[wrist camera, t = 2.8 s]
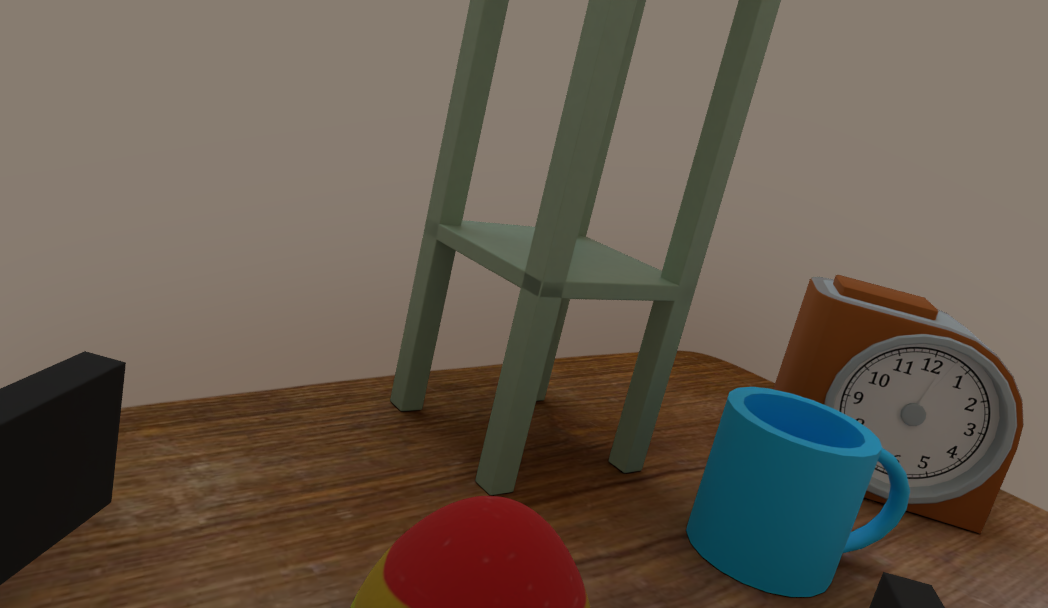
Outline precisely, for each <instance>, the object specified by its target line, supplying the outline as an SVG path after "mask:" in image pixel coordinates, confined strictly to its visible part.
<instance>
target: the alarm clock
mask: <svg viewBox="0 0 1048 608" xmlns="http://www.w3.org/2000/svg"><path fill="white" fill-rule="evenodd" d="M773 390H778V391H782V392H787V393H791V394H795V395H798V396H801V397H804V398H807V399H811V400H814V401H816V402H819V403H821V404H824V405H826V406H828V407H831V408H833V409H836V410H838V411H840V412H841V413H843V414H845V415H847V416H849V417H851V418H853V419H855V420H856V421H858V422H859V423H861V424H862V425H864V426H865V427H867V428H868V429H870V430H871V431H872V432H873V433H874V434H875V435H876V436H877V437H878V438H879V439H880V442H881V445H882V448H883V449H885V450H886V451H888V452H889V453H891V454H892V455H894V456H895V458H896V459H897V460H898V462H899V463H900V465H901V466H902V467H903V469H904V470H905V472H906V474H907V478H908V483H909V488H910V495H909V500H908V505H907V510H906V511H909V512H912V513H916V514H919V515H922V516H925V517H929V518H932V519H935V520H938V521H941V522H945V523H948V524H951V525H954V526H957V527H961V528H964V529H967V530H970V531H974V532H977V533H980V534H981V532H982V529H983V527H984V525H985V522H986V520H987V518H988V515H989V513H990V511H991V508H992V506H993V504H994V501H995V499H996V497H997V494H998V492H999V490H1000V487H1001V485H1002V483H1003V480H1004V478H1005V476H1006V473H1007V471H1008V469H1009V466H1010V464H1011V461H1012V459H1013V457H1014V455H1015V452H1016V450H1017V447H1018V444H1019V440H1020V436H1021V432H1022V428H1023V406H1022V398H1021V395H1020V393H1019V390H1018V387H1017V385H1016V382H1015V379H1014V377H1013V375H1012V374H1011V373H1010V371H1009V370H1008V369H1007V367H1006V366H1005V365H1004V364H1003V362H1002V361H1001V360H1000V358H999V357H998V356H997V355H996V354H995V353H994V352H993V351H992V350H991V349H989V348H988V347H987V346H986V345H985V344H984V343H983V342H981V341H980V340H979V339H978V338H977V337H976V336H975V335H974V334H972V333H971V332H970V331H969V330H968V329H967V328H966V327H964V326H963V325H962V324H960V323H959V322H958V321H956V320H955V319H954V318H952V317H951V316H950V315H948V314H947V313H945V312H943V311H940V310H938V309H936V308H935V307H934V306H933V305H932V304H931V303H930V302H928V301H927V300H926V299H925V298H924V297H920V296H916V295H912V294H909V293H905V292H901V291H897V290H893V289H890V288H885V287H882V286H879V285H874V284H871V283H867V282H863V281H860V280H856V279H852V278H848V277H844V276H841V275H836V277H835V279H834V280H833V279H827V278H823V277H812V278H811V279H810V281H809V284H808V287H807V290H806V293H805V296H804V299H803V302H802V305H801V308H800V311H799V314H798V317H797V320H796V323H795V326H794V329H793V332H792V335H791V338H790V341H789V344H788V347H787V350H786V353H785V356H784V359H783V362H782V365H781V368H780V371H779V374H778V377H777V380H776V383H775V386H774V389H773ZM890 486H891V485H890V481H889V477H888V473H887V471H886V470H885V469H884V467H883V466H882V464H881V463H880V462H878V461H877V464H876V467H875V469H874V472H873V475H872V477H871V480H870V482H869V485H868V488H867V490H866V493H865V496H864V498H867V499H871V500H874V501H877V502H880V503H883V504H885V503H886V502H887V500H888V497H889V491H890Z"/></svg>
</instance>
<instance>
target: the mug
mask: <svg viewBox="0 0 1048 608" xmlns="http://www.w3.org/2000/svg"><path fill="white" fill-rule="evenodd" d="M877 461H878V462H880V463H881V464H882V466H883V467H884V469H885V470H886V471H887V473H888V477H889V481H890V485H891V486H890V491H889V497H888V500H887V502H886V503H885V505H884V507H883V508H882V510H881V511H880V513H879V514H878V515H877V516H875V517H874V518H873V519H872V520H871V521H870V522H869V523H868V524H866V525H864V526H862V527H860V528H858V529H856V530H854V531H852V532H851V530H852V527H853V525H854V522H855V519H856V517H857V514H858V511H859V509H860V506H861V503H862V501H863V498H864V496H865V493H866V490H867V488H868V485H869V482H870V480H871V477H872V475H873V472H874V469H875V467H876V464H877ZM909 495H910V488H909V483H908V478H907V474H906V472H905V470H904V469H903V467H902V466H901V465H900V463H899V462H898V460H897V459H896V458H895V456H894V455H892V454H891V453H889V452H888V451H886V450H885V449H883V448H882V445H881V442H880V439H879V438H878V437H877V436H876V435H875V434H874V433H873V432H872V431H871V430H870V429H868V428H867V427H865V426H864V425H862V424H861V423H859V422H858V421H856V420H855V419H853V418H851V417H849V416H847V415H845V414H843V413H841V412H840V411H838V410H836V409H833V408H831V407H828V406H826V405H824V404H821V403H819V402H816V401H814V400H811V399H807V398H804V397H801V396H798V395H795V394H791V393H787V392H782V391H778V390H773V389H767V388H758V387H744V388H737V389H735V390H733V391H731V392H729V395H728V399H727V402H726V405H725V408H724V411H723V414H722V417H721V420H720V424H719V427H718V430H717V433H716V436H715V439H714V442H713V446H712V449H711V452H710V455H709V458H708V461H707V464H706V468H705V471H704V474H703V477H702V480H701V483H700V486H699V489H698V493H697V496H696V499H695V502H694V505H693V508H692V511H691V515H690V518H689V521H688V525H687V529H686V531H687V534H688V537H689V540H690V543H691V544H692V545H693V546H694V548H695V549H696V550H697V551H698V552H699V554H700V555H701V556H702V557H703V558H704V559H706V560H707V561H708V562H710V563H711V564H712V565H713V566H715V567H716V568H717V569H719V570H720V571H722V572H723V573H725V574H727V575H729V576H731V577H733V578H734V579H736V580H738V581H740V582H742V583H744V584H747V585H749V586H752V587H755V588H757V589H760V590H763V591H765V592H769V593H774V594H779V595H784V596H789V597H812V596H815V595H818V594H820V593H823V592H825V591H826V590H827V588H828V587H829V585H830V584H831V582H832V580H833V577H834V575H835V572H836V569H837V567H838V564H839V561H840V559H841V556H842V553H846V552H850V551H854V550H858V549H862V548H864V547H866V546H868V545H870V544H872V543H874V542H876V541H878V540H880V539H882V538H883V537H884V536H885V535H886V534H888V533H889V532H890V531H891V530H892V529H893V528H894V527H896V526H897V524H898V523H899V521H900V519H901V518H902V516H903V515H904V513H905V511H906V510H907V505H908V500H909Z"/></svg>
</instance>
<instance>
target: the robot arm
mask: <svg viewBox="0 0 1048 608" xmlns="http://www.w3.org/2000/svg"><path fill="white" fill-rule="evenodd" d="M125 364H126V363H125V362H121V361H118V360H114V359H111V358H107V357H103V356H100V355H96V354H93V353H89V352H86V351H85V352H82V353H80V354H78V355H76V356H73V357H71V358H69V359H67V360H65V361H62V362H60V363H57V364H55V365H53V366H51V367H49V368H46V369H44V370H42V371H39V372H37V373H35V374H33V375H30V376H28V377H26V378H24V379H22V380H19V381H17V382H15V383H12V384H10V385H8V386H6V387H3V388H1V389H0V585H1V584H2V583H4V582H5V581H6V580H8V579H9V578H10V577H12V576H13V575H14V574H16V573H17V572H18V571H20V570H21V569H22V568H24V567H25V566H26V565H28V564H29V563H30V562H32V561H33V560H34V559H36V558H37V557H38V556H40V555H41V554H42V553H44V552H45V551H46V550H48V549H49V548H51V547H52V546H53V545H55V544H56V543H57V542H59V541H60V540H61V539H63V538H64V537H65V536H67V535H68V534H69V533H71V532H72V531H73V530H75V529H76V528H77V527H79V526H80V525H81V524H83V523H84V522H85V521H87V520H88V519H89V518H91V517H92V516H93V515H95V514H96V513H97V512H99V511H100V510H101V509H103V508H104V507H105V506H107V505H108V504H109V503H111V499H112V489H113V480H114V470H115V461H116V451H117V441H118V432H119V422H120V413H121V403H122V393H123V384H124V374H125ZM870 608H945V607H944V606H943V604H942V602H941V601H940V599H939V597H938V595H937V594H936V592H935V590H934V589H933V587H932V585H929V584H925V583H922V582H918V581H914V580H911V579H907V578H903V577H900V576H896V575H893V574H889V573H885V572H883V574H882V577H881V579H880V582H879V585H878V587H877V590H876V592H875V595H874V597H873V600H872V602H871V605H870Z"/></svg>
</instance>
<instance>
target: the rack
mask: <svg viewBox="0 0 1048 608" xmlns="http://www.w3.org/2000/svg"><path fill="white" fill-rule="evenodd" d="M508 1H509V0H470V4H469V9H468V14H467V19H466V24H465V29H464V34H463V40H462V45H461V49H460V54H459V59H458V64H457V69H456V75H455V79H454V84H453V89H452V94H451V99H450V104H449V109H448V114H447V119H446V125H445V129H444V134H443V139H442V144H441V149H440V154H439V159H438V164H437V170H436V174H435V179H434V184H433V189H432V194H431V199H430V204H429V209H428V214H427V219H426V224H425V229H424V235H423V239H422V244H421V249H420V254H419V259H418V264H417V269H416V274H415V279H414V284H413V289H412V294H411V299H410V304H409V309H408V314H407V319H406V324H405V329H404V334H403V339H402V344H401V349H400V354H399V359H398V364H397V369H396V374H395V379H394V384H393V389H392V394H391V399H390V401H391V402H392V403H393V404H394V405H395V406H396V407H397V408H398V409H399V410H400V411H411V410H422V407H423V402H424V398H425V393H426V388H427V383H428V379H429V374H430V369H431V364H432V360H433V355H434V350H435V346H436V341H437V336H438V331H439V327H440V322H441V317H442V312H443V308H444V303H445V298H446V294H447V289H448V284H449V280H450V275H451V270H452V265H453V261H454V256H455V251H457V252H459V253H461V254H463V255H464V256H466V257H468V258H470V259H471V260H473V261H475V262H477V263H478V264H480V265H482V266H484V267H485V268H487V269H489V270H491V271H492V272H494V273H496V274H498V275H499V276H501V277H503V278H504V279H506V280H508V281H510V282H512V283H513V284H515V285H517V286H518V287H520V288H521V290H520V294H519V298H518V302H517V307H516V311H515V315H514V319H513V323H512V328H511V332H510V336H509V340H508V344H507V349H506V353H505V358H504V361H503V366H502V370H501V374H500V378H499V382H498V387H497V391H496V395H495V399H494V404H493V408H492V412H491V416H490V420H489V425H488V429H487V433H486V437H485V442H484V446H483V450H482V454H481V458H480V463H479V467H478V471H477V475H476V480H475V481H476V482H477V483H478V484H479V485H480V486H481V487H482V488H483V489H484V490H485V491H486V492H487V493H488V494H490V495H496V494H502V493H508V492H513V490H514V486H515V482H516V478H517V474H518V470H519V466H520V462H521V458H522V454H523V450H524V446H525V442H526V439H527V435H528V431H529V427H530V423H531V419H532V415H533V411H534V407H535V403H536V401H539V400H544V399H545V395H546V391H547V387H548V383H549V379H550V375H551V372H552V368H553V364H554V360H555V356H556V352H557V348H558V344H559V340H560V336H561V332H562V328H563V324H564V320H565V316H566V313H567V309H568V305H569V301H570V299H599V300H600V299H601V300H649V301H653V305H652V309H651V312H650V316H649V319H648V323H647V326H646V330H645V333H644V337H643V340H642V344H641V348H640V351H639V354H638V358H637V361H636V365H635V369H634V372H633V376H632V379H631V383H630V386H629V390H628V393H627V397H626V400H625V404H624V407H623V411H622V414H621V418H620V421H619V425H618V429H617V432H616V436H615V439H614V443H613V446H612V450H611V453H610V457H609V462H610V463H611V464H613V465H614V466H616V467H617V468H618V469H620V470H621V471H622V472H624V473H628V472H634V471H641V470H642V467H643V464H644V461H645V457H646V454H647V450H648V447H649V444H650V440H651V437H652V434H653V430H654V427H655V423H656V420H657V417H658V413H659V410H660V407H661V403H662V400H663V396H664V393H665V390H666V386H667V383H668V380H669V376H670V373H671V369H672V366H673V363H674V359H675V356H676V353H677V349H678V346H679V342H680V339H681V336H682V332H683V329H684V325H685V322H686V319H687V315H688V312H689V309H690V305H691V302H692V298H693V295H694V292H695V288H696V285H697V282H698V278H699V275H700V272H701V268H702V265H703V261H704V258H705V255H706V251H707V248H708V244H709V241H710V238H711V234H712V231H713V228H714V224H715V221H716V218H717V214H718V211H719V207H720V204H721V201H722V197H723V194H724V191H725V187H726V184H727V180H728V177H729V174H730V170H731V167H732V164H733V160H734V157H735V153H736V150H737V146H738V143H739V140H740V136H741V133H742V130H743V126H744V123H745V119H746V116H747V113H748V109H749V106H750V103H751V99H752V96H753V93H754V89H755V86H756V83H757V79H758V75H759V72H760V69H761V65H762V62H763V59H764V56H765V52H766V49H767V45H768V42H769V39H770V35H771V32H772V29H773V25H774V22H775V18H776V15H777V12H778V8H779V5H780V2H781V0H739V1H738V5H737V8H736V12H735V16H734V19H733V23H732V26H731V30H730V33H729V37H728V40H727V44H726V47H725V51H724V55H723V58H722V61H721V65H720V68H719V72H718V76H717V79H716V83H715V86H714V90H713V93H712V97H711V101H710V104H709V108H708V111H707V114H706V118H705V122H704V125H703V128H702V132H701V136H700V140H699V143H698V146H697V150H696V153H695V157H694V160H693V164H692V168H691V171H690V174H689V178H688V181H687V185H686V189H685V192H684V196H683V200H682V203H681V206H680V210H679V213H678V217H677V220H676V224H675V227H674V231H673V234H672V238H671V242H670V245H669V249H668V252H667V256H666V259H665V263H664V266H663V270H662V271H661V270H659V269H657V268H654V267H652V266H650V265H647V264H645V263H643V262H641V261H639V260H637V259H634V258H632V257H630V256H628V255H625V254H623V253H621V252H619V251H616V250H614V249H612V248H610V247H608V246H606V245H603V244H601V243H599V242H597V241H594V240H592V239H590V238H588V237H586V234H587V230H588V226H589V222H590V218H591V214H592V210H593V207H594V203H595V198H596V195H597V191H598V187H599V183H600V179H601V175H602V171H603V167H604V163H605V159H606V155H607V151H608V148H609V143H610V140H611V136H612V132H613V128H614V124H615V120H616V116H617V112H618V108H619V104H620V100H621V96H622V93H623V89H624V84H625V80H626V77H627V73H628V69H629V65H630V61H631V57H632V53H633V49H634V45H635V42H636V37H637V33H638V30H639V26H640V22H641V18H642V14H643V10H644V6H645V2H646V0H589V3H588V7H587V11H586V16H585V19H584V24H583V28H582V32H581V37H580V41H579V45H578V49H577V54H576V57H575V62H574V66H573V70H572V75H571V79H570V83H569V87H568V91H567V95H566V100H565V104H564V108H563V112H562V117H561V121H560V125H559V130H558V133H557V138H556V142H555V146H554V150H553V154H552V159H551V163H550V167H549V172H548V176H547V180H546V184H545V188H544V192H543V197H542V201H541V206H540V209H539V214H538V218H537V222H536V226H535V227H530V226H518V225H508V224H496V223H484V222H474V221H463V220H462V218H463V214H464V209H465V204H466V199H467V195H468V190H469V185H470V181H471V176H472V171H473V166H474V162H475V157H476V152H477V147H478V143H479V138H480V133H481V129H482V124H483V119H484V115H485V110H486V105H487V100H488V96H489V91H490V86H491V82H492V77H493V72H494V67H495V63H496V58H497V53H498V48H499V44H500V38H501V34H502V30H503V25H504V20H505V16H506V11H507V6H508Z"/></svg>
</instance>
